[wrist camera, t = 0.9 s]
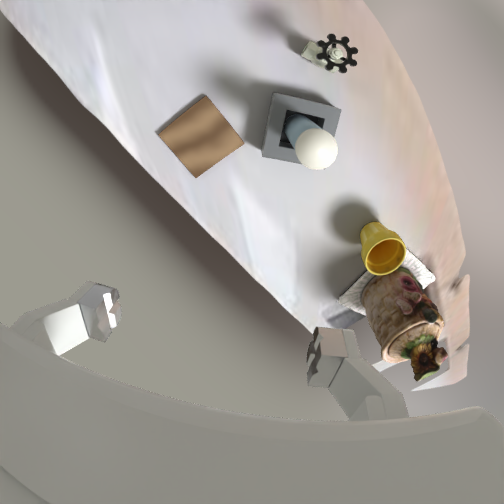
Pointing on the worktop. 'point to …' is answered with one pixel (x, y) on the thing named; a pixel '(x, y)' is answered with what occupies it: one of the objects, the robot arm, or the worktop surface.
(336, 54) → the valve
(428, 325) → the cookie jar
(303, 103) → the housing
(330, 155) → the blue bottle
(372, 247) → the plant pot
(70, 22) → the worktop surface
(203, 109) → the board
